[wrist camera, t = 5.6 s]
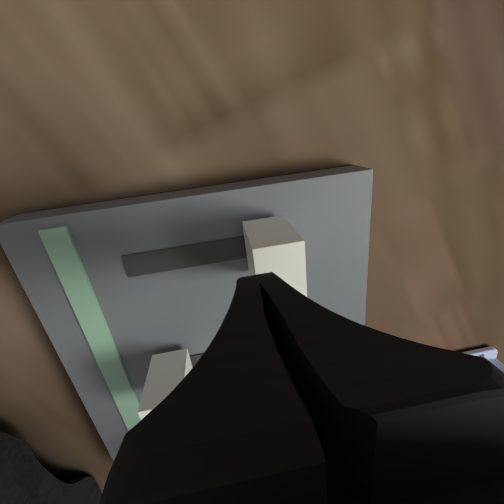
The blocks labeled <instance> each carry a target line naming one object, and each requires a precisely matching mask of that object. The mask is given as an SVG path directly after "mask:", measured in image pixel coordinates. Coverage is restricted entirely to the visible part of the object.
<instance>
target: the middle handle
mask: <svg viewBox="0 0 504 504" xmlns="http://www.w3.org/2000/svg"><path fill="white" fill-rule="evenodd" d="M192 368H193V367H192V364H191V360H190V356H189V353H188V349H182V350H176V351H171V352H166V353H161V354H155V355H152V358H151V362H150V366H149V370H148V374H147V377H146V381H145V385H144V389H143V393H142V397H141V401H140V405H139V409H138V415H139V417H140V419H141V420H142V419H143V418H144V417H145V416H146V415H147V414H148V413H149V412H151V411H152V410H153V409H154V408H155V407H156V406H157V405H158V404H159V403H160V402H162V401H163V400H164V399H165V398H166V397H167V396H168V395H169V394H170V393H171V392H172V391H173V389H174V388H175V387H176V386H177V385H178V384H179V383H180V382H181V381H182V380H183V378H184V377H185V376H186V375H187V374H188V373H189V372H190V370H191V369H192Z"/></svg>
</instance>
